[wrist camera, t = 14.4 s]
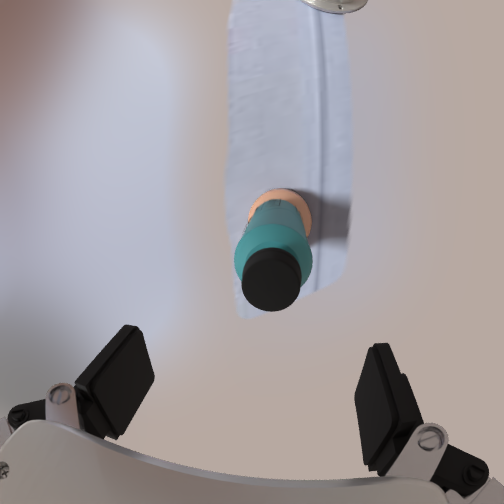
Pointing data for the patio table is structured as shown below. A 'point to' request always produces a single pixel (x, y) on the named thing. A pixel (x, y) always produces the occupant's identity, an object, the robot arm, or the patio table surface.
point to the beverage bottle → (273, 256)
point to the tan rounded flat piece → (290, 197)
